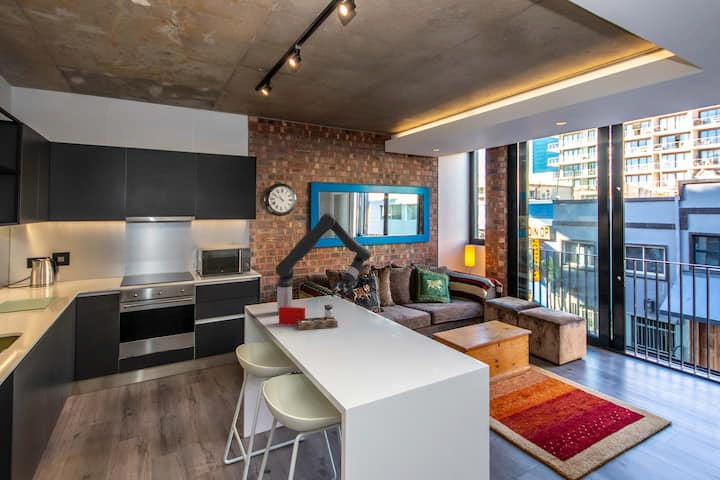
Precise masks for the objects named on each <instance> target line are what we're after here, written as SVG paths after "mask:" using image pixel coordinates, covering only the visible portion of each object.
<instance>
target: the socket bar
mask: <svg viewBox="0 0 720 480" xmlns="http://www.w3.org/2000/svg"><path fill="white" fill-rule="evenodd" d="M338 322H339V321H338V319H336V318H335V317H334V316H333V315H332V319H326V320H325V316H319V317H308V318H307V317H305V319H304V321H301V322H300V319H297V325H296V327H297V328H298V330H299V331H303V330H304V331H305V330H319V329H330V328H338Z"/></svg>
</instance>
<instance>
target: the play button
mask: <svg viewBox="0 0 720 480" xmlns="http://www.w3.org/2000/svg"><path fill="white" fill-rule="evenodd" d="M305 318H306V308H305V307H298V306H297V307H296V306H292V307H280V308H279V314H278V324H279V325H288V324H290V326H297V319H300V322H301V321H304V319H305Z"/></svg>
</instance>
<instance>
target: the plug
mask: <svg viewBox="0 0 720 480" xmlns="http://www.w3.org/2000/svg"><path fill="white" fill-rule="evenodd" d="M332 311H333V305H332V304H324V317H325V320H326V319H332V316H333V312H332Z"/></svg>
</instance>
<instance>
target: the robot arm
mask: <svg viewBox="0 0 720 480" xmlns="http://www.w3.org/2000/svg"><path fill="white" fill-rule="evenodd" d="M318 220H319V221H318V222H317V223H316V224H315V226H314V227H313V228H312V229H311V230H310V231H309V232H307V233H306V234H305V235H303V237H302V238H301V239H300V240H299V241H298V242H297V243H296V244H295V246H294V247H293V248H292V249H291V251H290V252H289V253H287V255H286V257H284V258H283V259H282V260H281V261H280V262H278V263H277V264H276V267H275V274H276V275H277V277H279V278H278V281H277V287H276V288H277V289H276V291H277V292H276V293H277V298H276V299H277V300H276V304H277V305H276V309H277V310H276V313H277V314H278V315H279V308H280V307H293V282H294V266H295V265H296V264H298V263H299V261H300V260H302V259H304V257H306V256H307V255H308V254H309V253H310V252H311V251H312V250H313V249H314V248H315V246H316V245H317V244H318V243H319V241H320V240H321V238H322V237H323V236H324V235H325V234H326V233H327V232H328V231H330V230H331V231H332V232H333V233H334V234H335V236H337V237H338V239H339V240H340V241H341V242H342V244H343V245H344V246H345V247H346V249H348V250H349V251H350V252H352V253H355V255H354V257H353V260H352V262H351V263H350V265H349V267H348V268H347V270H345V272H344V273H343V275H342V276H341V279H340V281H338V280H336V281H335V282H334V284H333V285H332V286H331V290H332V291H331V293H330V296H331V297H332V298H333V297H334V296H335V294H336V293H337V292H339V291H341V290H342V291H343V292H342V293H341V295H340V298H341V300H344V299H346V297H347V295H351V293H352V291H353V290H354V289H355V286H354V282H355V280H356V279H357V278H358V275H359V273H360V272H361V270H362V268H363V264H364V262H366V261H368V260H369V259H370V258H371V252H370V251H369V249H368V248H366V247H365V246H364V245H362V244H360V243H359V242H358V241H357V240H356V239H355V238H354V237H353V236H352V235H351V234H350V233H349V232H348V231H347V230H345V228H344V227H343V226H342V225H341V224H340V222H339V221H338V220H337V218H336V217H335V215H334V214H333V213H331V212H325V213H323V214H322V215H321V217H320V218H319V219H318Z"/></svg>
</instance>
